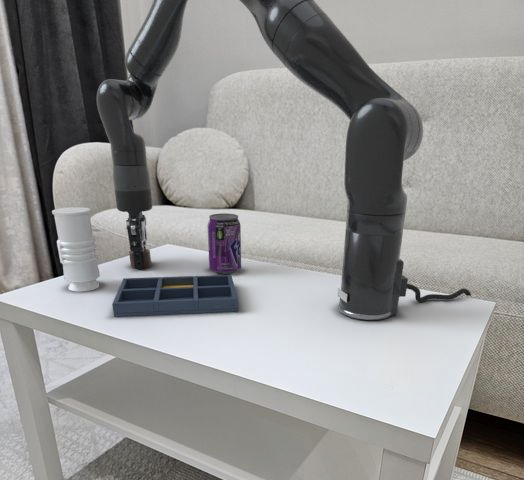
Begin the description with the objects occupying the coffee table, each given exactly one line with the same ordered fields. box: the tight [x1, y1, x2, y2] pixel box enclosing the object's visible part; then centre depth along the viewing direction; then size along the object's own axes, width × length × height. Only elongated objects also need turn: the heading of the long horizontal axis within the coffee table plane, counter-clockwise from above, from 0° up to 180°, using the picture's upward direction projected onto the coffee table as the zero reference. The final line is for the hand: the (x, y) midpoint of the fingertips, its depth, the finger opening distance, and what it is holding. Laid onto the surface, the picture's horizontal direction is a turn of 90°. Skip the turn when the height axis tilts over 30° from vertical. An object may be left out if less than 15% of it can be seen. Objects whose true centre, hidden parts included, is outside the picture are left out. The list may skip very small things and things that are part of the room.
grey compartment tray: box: [111, 274, 239, 318], centre depth 88 cm, size 21×14×2 cm
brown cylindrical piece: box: [128, 248, 152, 270], centre depth 108 cm, size 5×5×4 cm
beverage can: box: [207, 212, 242, 275], centre depth 103 cm, size 7×7×12 cm
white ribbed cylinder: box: [51, 206, 101, 293], centre depth 92 cm, size 7×7×15 cm
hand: (141, 264), depth 109 cm, fingers closed on brown cylindrical piece, 4 cm apart
